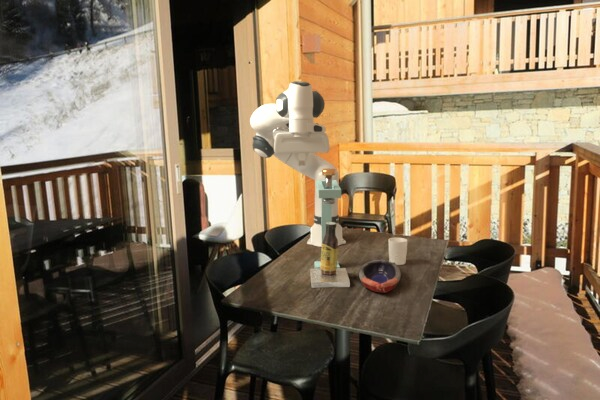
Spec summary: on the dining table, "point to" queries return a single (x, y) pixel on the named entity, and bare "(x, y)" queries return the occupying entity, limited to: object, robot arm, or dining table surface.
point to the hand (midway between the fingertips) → (302, 165)
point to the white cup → (397, 250)
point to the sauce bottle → (329, 250)
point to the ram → (328, 183)
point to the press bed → (329, 278)
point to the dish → (380, 275)
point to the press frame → (326, 207)
